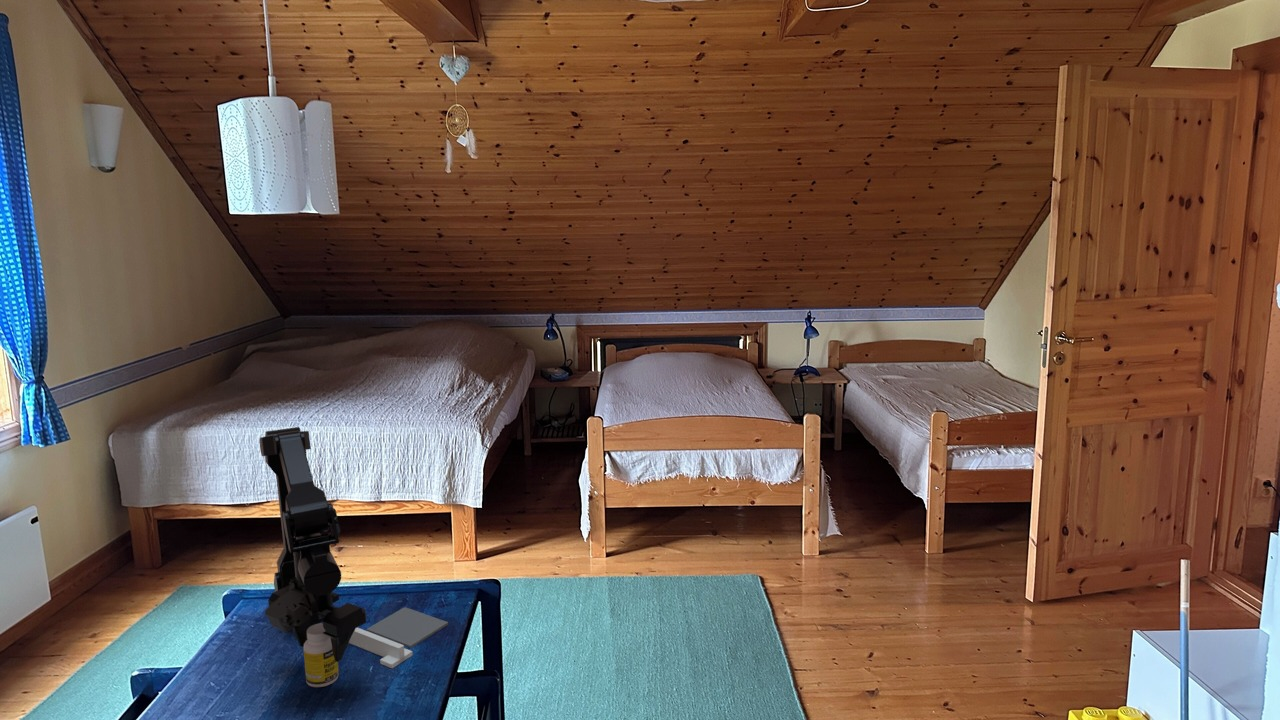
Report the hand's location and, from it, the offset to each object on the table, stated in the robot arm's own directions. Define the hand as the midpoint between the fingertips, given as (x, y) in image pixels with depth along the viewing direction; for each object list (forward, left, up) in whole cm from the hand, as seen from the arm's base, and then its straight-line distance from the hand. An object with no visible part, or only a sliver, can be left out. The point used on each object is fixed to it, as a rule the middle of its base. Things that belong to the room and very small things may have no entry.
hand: (320, 653), depth 143 cm
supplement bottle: (0, 0, -5) cm, 5 cm away
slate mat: (0, +20, -5) cm, 21 cm away
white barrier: (-2, +11, -5) cm, 12 cm away
